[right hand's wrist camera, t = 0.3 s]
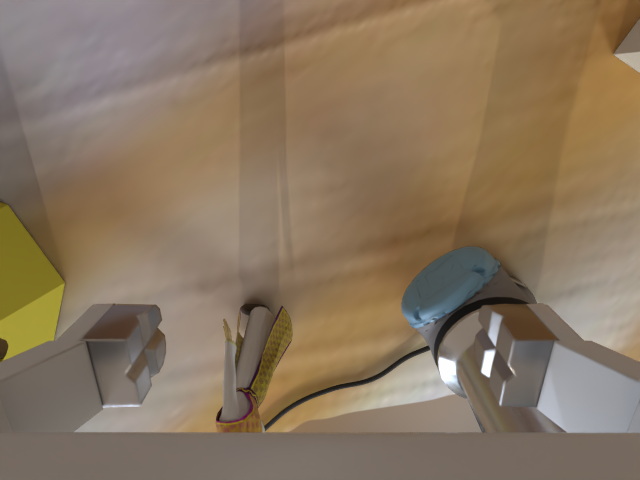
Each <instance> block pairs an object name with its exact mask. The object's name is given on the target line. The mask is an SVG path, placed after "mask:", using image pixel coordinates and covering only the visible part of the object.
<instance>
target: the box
mask: <svg viewBox="0 0 640 480" xmlns="http://www.w3.org/2000/svg"><path fill="white" fill-rule="evenodd" d="M613 55H615V56H616V57H617V58H619V59H620V60H622V61H623V62H625V63H626V64H628V65H629V66H630V67H632V68H633V69H635V70H636V71H638V72H639V73H640V18H639V20H638V21H637V22H636V24H635V25H634V27H633V28H632V29H631V31H630V32H629V33H628V35H627V36H626V37H625V39H624V40H623V41H622V43H621V44H620V46H619V47H618V48H617V50H616V51H615V52H614V54H613Z"/></svg>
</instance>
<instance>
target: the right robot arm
mask: <svg viewBox="0 0 640 480" xmlns="http://www.w3.org/2000/svg"><path fill="white" fill-rule="evenodd" d="M161 321H162V317H161V312H160V308H159V307H158V306H157V305H146V304H95V305H92V306H91V307H90V308H89V309H88V310H87V311H86V312H85V313H84V314H83V315H82V316H81V317H80V318H79V319H78V320H77V321H76V322H75V323H74V324H73V325H72V326H71V327H69V328H68V329H67V330H66V331H65V332H64V333H63V334H62V335H61V336H60V337H59V338H58V339H57V340H56V341H48V342H45V343H43V344H41V345H38V346H36V347H34V348H31V349H29V350H27V351H25V352H22V353H20V354H18V355H15V356H13V357H11V358H8V359H6V360H4V361H2V362H0V480H640V362H638V361H636V360H634V359H631V358H629V357H627V356H625V355H622V354H620V353H618V352H615V351H613V350H611V349H608V348H606V347H604V346H602V345H599V344H597V343H595V342H592V341H584V340H583V339H582V338H581V337H580V336H579V335H578V334H577V333H576V332H575V331H574V330H573V329H572V328H571V327H570V326H569V325H568V324H566V323H565V322H564V321H563V320H562V319H561V318H560V317H559V316H558V315H557V314H556V313H555V312H554V311H553V310H552V309H551V308H550V307H549V306H548V305H545V304H543V303H542V304H511V305H482V307H481V309H480V311H479V317H478V321H479V322H480V324H481V326H482V327H483V328H482V329H481V330H480V331H479V332H478V333H477V334H476V335H475V341H474V355H475V360H476V363H477V366H478V368H479V370H480V372H481V373H483V374H484V375H486V376H487V377H489V383H488V386H489V388H490V390H491V391H492V393H493V395H494V397H495V399H496V400H497V402H498V404H499V406H515V407H537V409H538V410H539V411H540V412H542V413H543V414H544V415H545V416H547V417H548V418H549V419H551V420H552V421H553V422H554V423H556V424H557V425H558V426H560V427H561V428H562V429H563V430H565V431H566V432H488V433H144V432H74V431H75V430H77V429H78V428H79V427H81V426H82V425H83V424H84V423H86V422H87V421H88V420H90V419H91V418H92V417H93V416H95V415H96V414H97V413H99V412H100V411H101V410H102V409H103V407H124V406H141V404H142V402H143V400H144V399H145V397H146V395H147V393H148V391H149V390H150V388H151V386H152V383H151V377H153V376H154V375H156V374H157V373H159V372H160V370H161V368H162V366H163V363H164V359H165V355H166V340H165V335H164V334H163V333H162V332H161V331H160V330H159V329H158V328H157V327H158V326H159V324H160V322H161Z"/></svg>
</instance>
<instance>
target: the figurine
mask: <svg viewBox="0 0 640 480" xmlns="http://www.w3.org/2000/svg"><path fill="white" fill-rule="evenodd" d="M241 311H242V313H244V314H245V315H249V320H248V324H247V327H246V331H245V335H244V339H243V338H242V336H241V335H240V333H239V332H238V331H239V325H240V314H241ZM223 322H224V326H223V328H224V331H225V339H226V341H225V363H224V379H223V407H222V408H221V409H220V411H219V412H218V413H217V417H216V427H217V432H218V433H265V428H264V425H263V422H262V420H260V416H259V412H258V407H259V406H260V404H261V403H262V401H263V400H264V398H265V396H266V393H267V390H268V386H269V383H270V381H271V378H272V375H273V373H274V370H275V368H276V367H277V365H278V363H279V361H280V359H281V357H282V356H283V354H284V352H285V351H286V349H287V348H288V346H289V344H290V343H291V341H292V325H291V320H290V318H289V315H288V314H287V312H286V310H285V309H284V308H283V306H282V307H281V309H280V311H279V313H278V315H277V317H276V319H275V318H274V316H273V314H272V313H271V312H270V311H269V308H268V307H265V306H263V305H254V304H250V305H243V306H242V307H241V308H240V312H239V317H238V326H237V338H236V343H234V341H232V336H231V332H230V329H229V326H228V324H227V322H226V320H225V319H223Z"/></svg>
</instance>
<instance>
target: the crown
mask: <svg viewBox="0 0 640 480" xmlns="http://www.w3.org/2000/svg"><path fill="white" fill-rule="evenodd" d="M64 285H65V282H64V281H63V279H62V278H61V277H60V275H59V274H58V272H57V271H56V270H55V268H54V267H53V266H52V264H51V263H50V262H49V260H48V259H47V257H46V256H45V255H44V253H43V252H42V251H41V249H40V248H39V247H38V245H37V244H36V242H35V241H34V240H33V238H32V237H31V236H30V234H29V233H28V232H27V230H26V229H25V228H24V226H23V225H22V223H21V222H20V221H19V219H18V218H17V217H16V215H15V214H14V213H13V211H12V210H11V208H10V207H9V206H8V205H7V204H4V203H1V202H0V338H1V339H4V340H6V341H7V343H8V346H9V347H8V350H7V354H6V356H5V357H4V359H0V362H2V361H4V360H6V359H8V358H11V357H13V356H15V355H18V354H20V353H22V352H25V351H27V350H29V349H31V348H34V347H36V346H38V345H41V344H43V343H45V342H48V341H54V337H55V332H56V326H57V321H58V316H59V311H60V306H61V301H62V296H63V291H64Z"/></svg>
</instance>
